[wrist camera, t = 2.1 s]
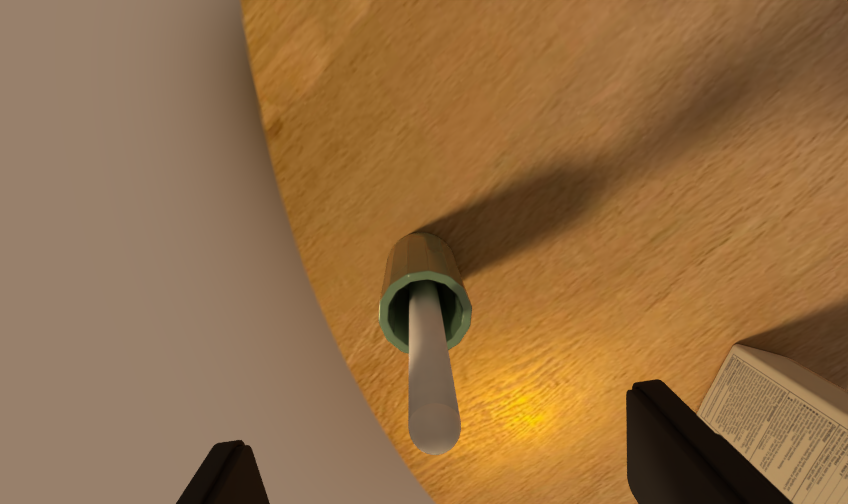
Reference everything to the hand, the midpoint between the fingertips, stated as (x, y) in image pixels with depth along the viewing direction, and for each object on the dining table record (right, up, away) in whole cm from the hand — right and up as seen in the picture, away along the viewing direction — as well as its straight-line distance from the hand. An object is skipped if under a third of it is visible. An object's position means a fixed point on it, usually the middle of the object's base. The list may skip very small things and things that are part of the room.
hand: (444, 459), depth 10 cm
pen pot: (-1, +4, +14) cm, 15 cm away
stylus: (-1, +4, +14) cm, 14 cm away
